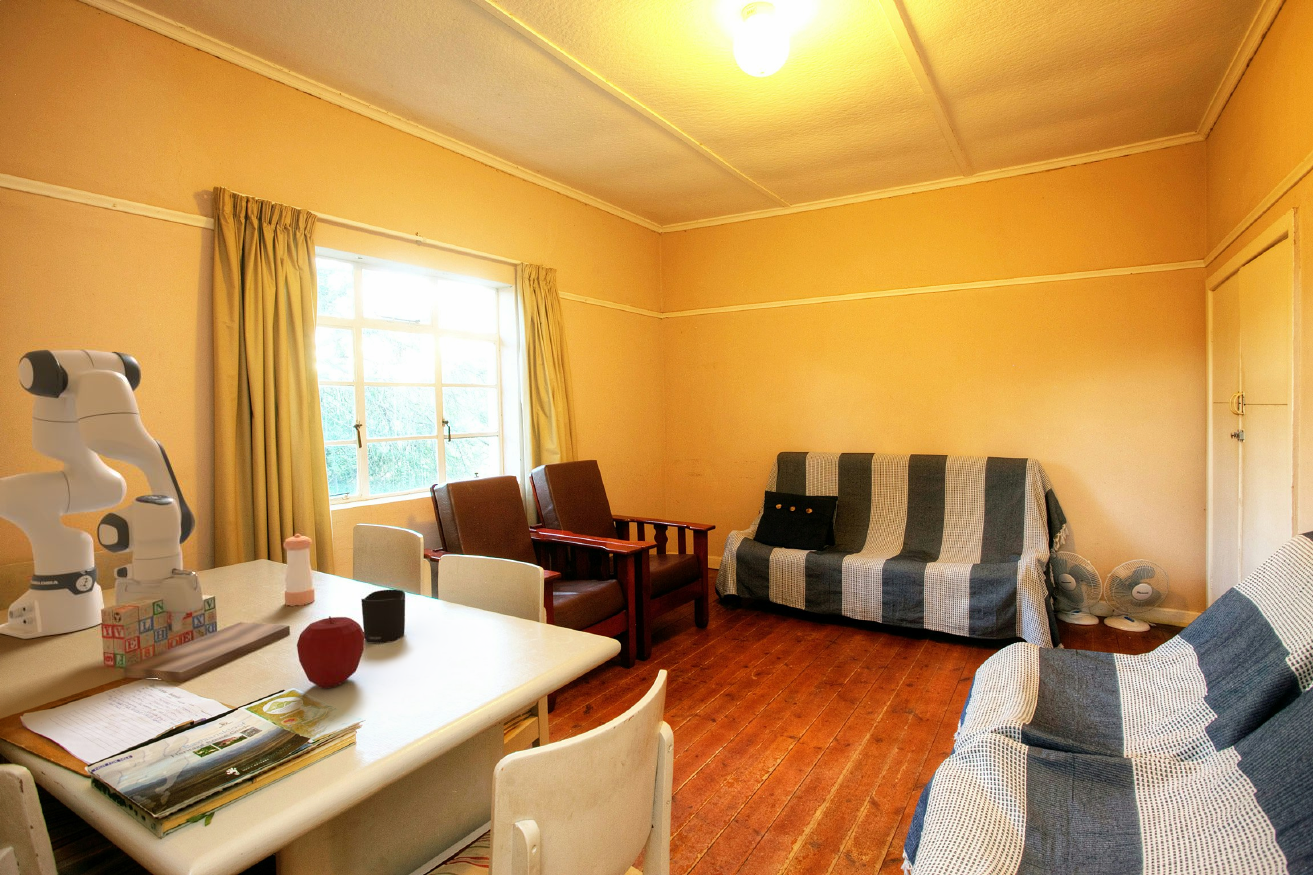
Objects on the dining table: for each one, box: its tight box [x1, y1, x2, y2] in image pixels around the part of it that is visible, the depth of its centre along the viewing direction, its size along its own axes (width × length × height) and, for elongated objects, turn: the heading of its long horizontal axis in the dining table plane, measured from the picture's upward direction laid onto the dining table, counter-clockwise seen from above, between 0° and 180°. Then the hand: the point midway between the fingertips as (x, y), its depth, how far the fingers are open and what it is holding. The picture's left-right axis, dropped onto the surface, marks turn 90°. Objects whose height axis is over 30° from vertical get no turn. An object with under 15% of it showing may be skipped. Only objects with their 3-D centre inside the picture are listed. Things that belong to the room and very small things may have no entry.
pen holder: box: [361, 589, 406, 644], centre depth 152 cm, size 9×9×10 cm
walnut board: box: [123, 621, 291, 683], centre depth 143 cm, size 14×28×2 cm, turn 168°
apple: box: [296, 615, 365, 689], centre depth 126 cm, size 12×12×13 cm
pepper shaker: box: [282, 533, 315, 607], centre depth 181 cm, size 7×7×19 cm
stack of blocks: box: [100, 594, 218, 669], centre depth 146 cm, size 21×6×12 cm, turn 166°
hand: (160, 629), depth 146 cm, fingers closed on stack of blocks, 6 cm apart
